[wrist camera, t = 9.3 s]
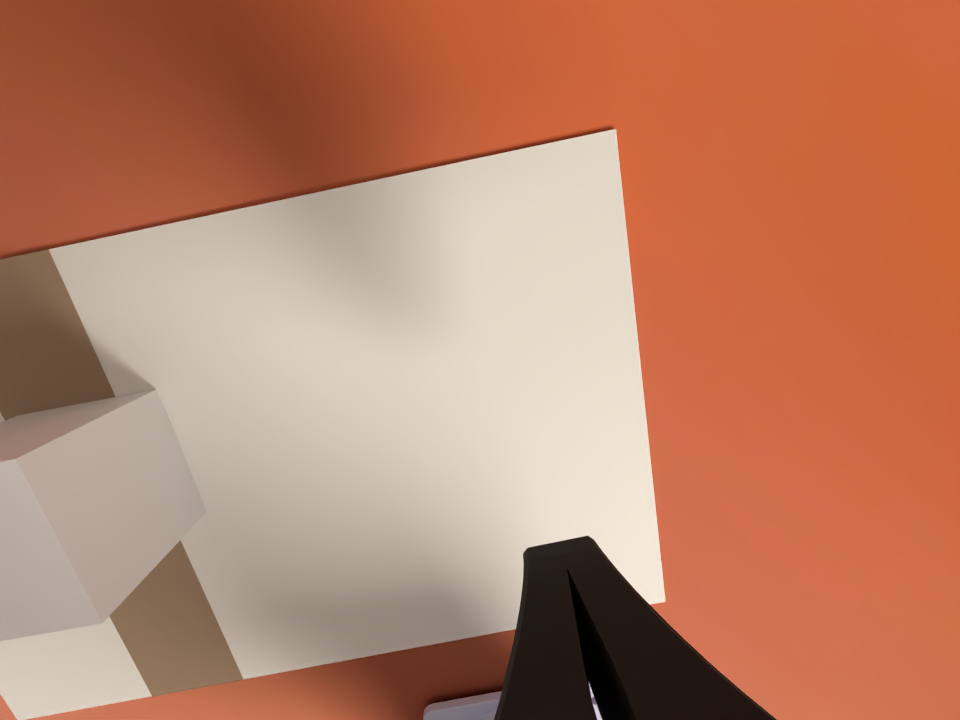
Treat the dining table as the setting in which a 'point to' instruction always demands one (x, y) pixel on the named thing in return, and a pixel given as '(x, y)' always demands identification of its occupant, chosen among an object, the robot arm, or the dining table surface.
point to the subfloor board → (350, 414)
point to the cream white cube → (87, 509)
